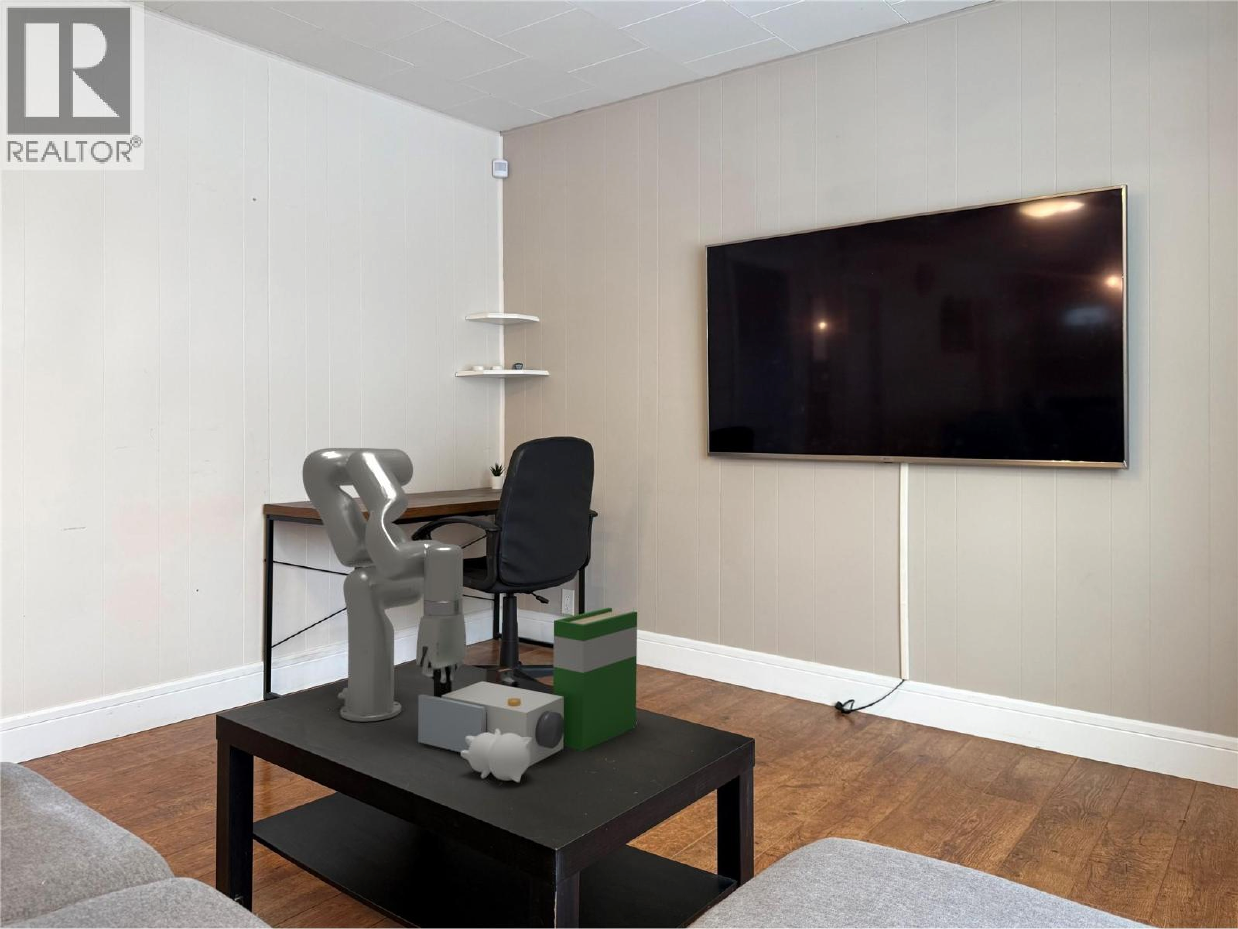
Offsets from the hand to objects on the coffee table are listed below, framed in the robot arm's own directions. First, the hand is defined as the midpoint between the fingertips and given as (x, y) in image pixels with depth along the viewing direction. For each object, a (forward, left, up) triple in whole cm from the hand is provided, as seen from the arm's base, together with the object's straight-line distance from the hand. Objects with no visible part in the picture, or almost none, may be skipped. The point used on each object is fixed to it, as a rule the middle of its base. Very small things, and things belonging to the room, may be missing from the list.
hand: (442, 700), depth 173 cm
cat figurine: (+21, -8, -8) cm, 24 cm away
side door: (+6, -4, -7) cm, 10 cm away
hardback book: (+24, +18, -8) cm, 31 cm away
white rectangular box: (+13, +2, -8) cm, 15 cm away
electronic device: (-6, +26, -8) cm, 28 cm away
